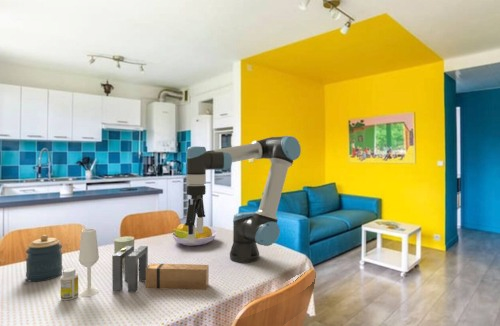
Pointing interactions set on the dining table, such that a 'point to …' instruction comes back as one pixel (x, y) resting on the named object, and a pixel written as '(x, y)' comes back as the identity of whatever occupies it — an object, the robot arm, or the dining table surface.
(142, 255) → the collar
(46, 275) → the canister
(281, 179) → the robot arm
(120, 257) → the collar
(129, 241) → the can
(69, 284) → the supplement bottle
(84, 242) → the champagne flute
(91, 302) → the dining table surface
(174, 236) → the fruit bowl
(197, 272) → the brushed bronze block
